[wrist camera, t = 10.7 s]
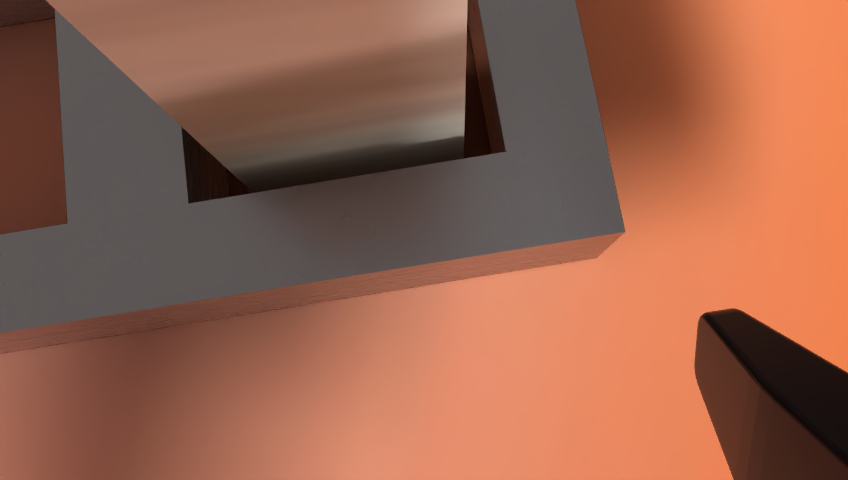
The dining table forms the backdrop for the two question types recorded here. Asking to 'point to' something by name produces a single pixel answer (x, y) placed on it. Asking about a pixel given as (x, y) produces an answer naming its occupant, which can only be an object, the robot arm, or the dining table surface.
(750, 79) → the dining table surface
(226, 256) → the grey flat frame
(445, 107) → the square peg
